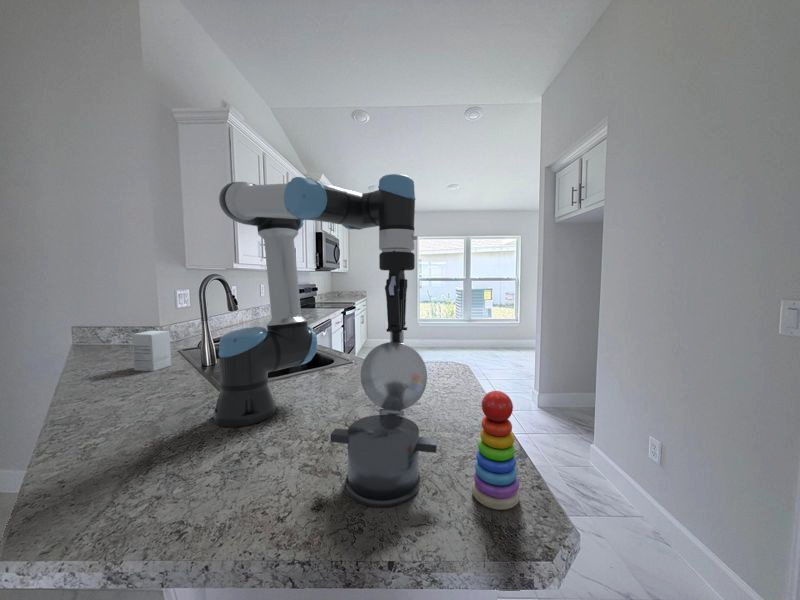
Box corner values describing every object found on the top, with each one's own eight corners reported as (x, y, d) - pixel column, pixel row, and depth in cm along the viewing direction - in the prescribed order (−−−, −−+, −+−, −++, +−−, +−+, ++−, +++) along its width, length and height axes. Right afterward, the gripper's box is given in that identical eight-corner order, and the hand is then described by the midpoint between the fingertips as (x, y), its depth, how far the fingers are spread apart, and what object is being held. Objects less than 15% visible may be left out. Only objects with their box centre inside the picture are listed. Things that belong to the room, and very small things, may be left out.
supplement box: (153, 364, 139) (151, 330, 138) (172, 365, 138) (170, 330, 137) (133, 370, 130) (131, 333, 129) (152, 371, 129) (151, 334, 128)
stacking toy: (466, 482, 60) (468, 383, 59) (507, 480, 61) (510, 382, 59) (480, 514, 52) (482, 400, 51) (528, 511, 53) (531, 398, 52)
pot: (318, 499, 55) (317, 442, 55) (346, 456, 69) (345, 410, 68) (432, 515, 52) (433, 455, 51) (439, 466, 65) (439, 418, 64)
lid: (360, 341, 68) (365, 339, 72) (358, 413, 68) (363, 408, 71) (427, 344, 65) (429, 342, 69) (425, 419, 65) (427, 413, 69)
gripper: (409, 249, 62) (409, 370, 64) (418, 253, 75) (417, 354, 77) (371, 249, 63) (372, 368, 65) (386, 254, 76) (386, 353, 78)
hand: (397, 360), depth 71 cm, fingers closed
